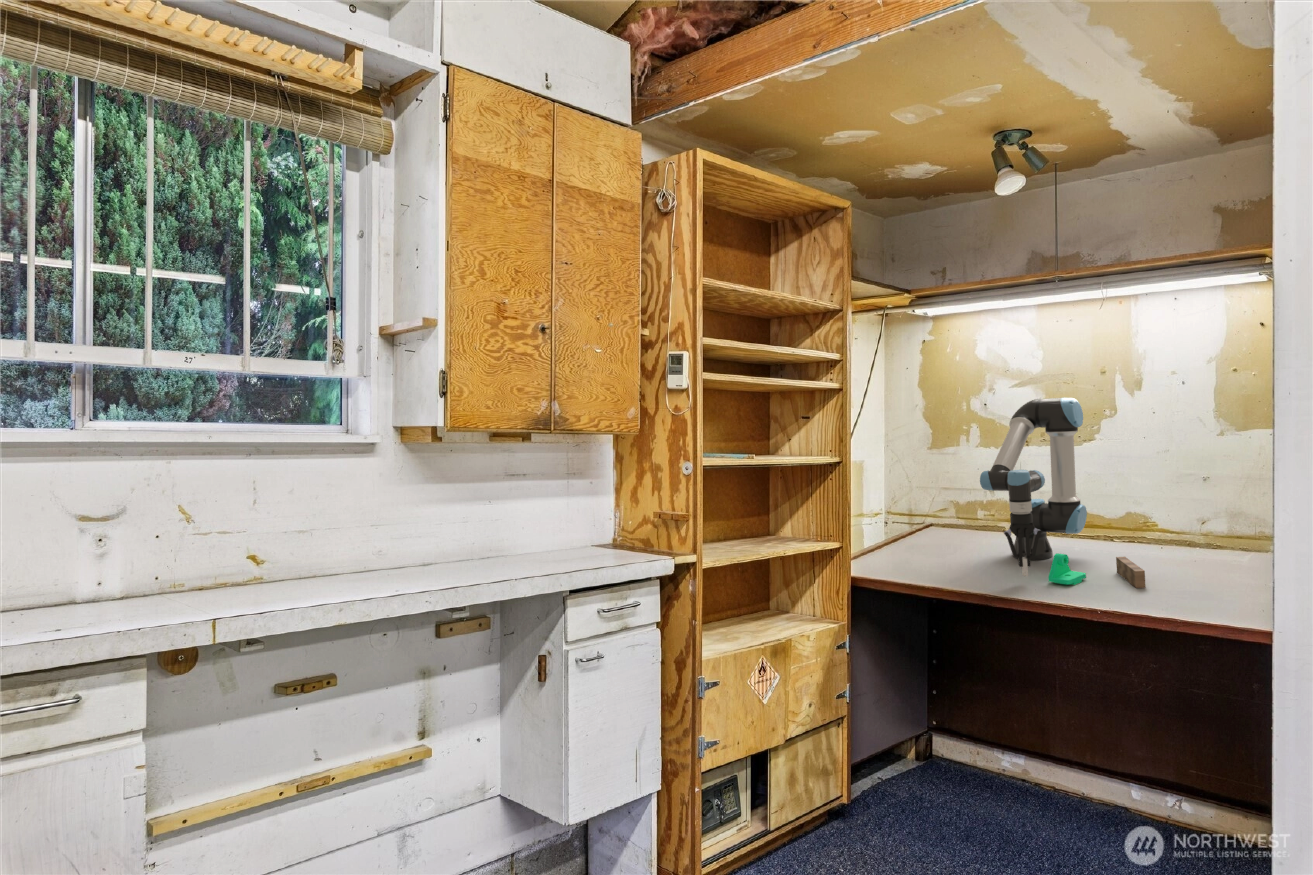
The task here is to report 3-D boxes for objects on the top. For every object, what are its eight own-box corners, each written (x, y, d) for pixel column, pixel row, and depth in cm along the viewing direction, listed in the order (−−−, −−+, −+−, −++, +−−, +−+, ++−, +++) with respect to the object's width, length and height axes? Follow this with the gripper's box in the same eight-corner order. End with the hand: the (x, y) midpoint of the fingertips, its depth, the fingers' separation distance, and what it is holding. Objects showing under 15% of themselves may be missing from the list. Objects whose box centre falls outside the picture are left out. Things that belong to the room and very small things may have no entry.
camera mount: (1068, 587, 298) (1066, 559, 297) (1048, 584, 304) (1046, 556, 303) (1087, 580, 304) (1085, 552, 303) (1067, 576, 311) (1065, 550, 310)
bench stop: (1117, 572, 308) (1116, 557, 308) (1125, 572, 308) (1124, 556, 307) (1136, 588, 289) (1135, 571, 288) (1145, 587, 288) (1144, 570, 288)
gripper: (1004, 515, 302) (1008, 578, 304) (1042, 513, 299) (1046, 577, 301) (1000, 511, 310) (1004, 573, 311) (1037, 509, 307) (1041, 571, 309)
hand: (1025, 575), depth 306 cm, fingers closed
